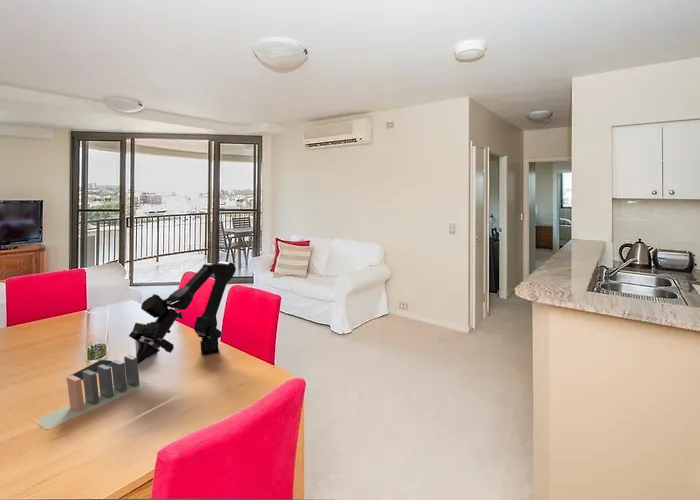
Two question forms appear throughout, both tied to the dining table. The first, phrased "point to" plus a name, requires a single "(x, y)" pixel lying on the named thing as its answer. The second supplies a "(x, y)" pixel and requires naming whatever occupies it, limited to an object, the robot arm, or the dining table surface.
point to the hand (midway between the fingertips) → (136, 363)
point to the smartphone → (92, 368)
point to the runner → (69, 413)
